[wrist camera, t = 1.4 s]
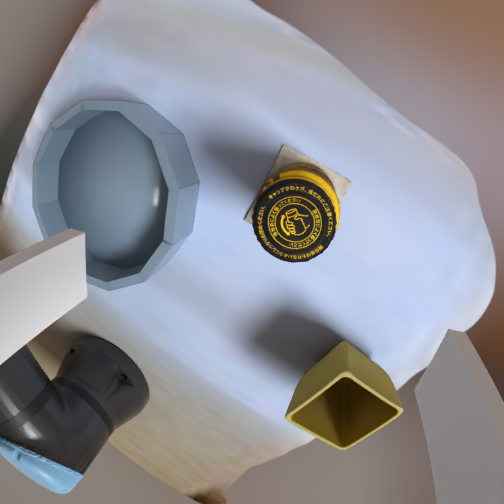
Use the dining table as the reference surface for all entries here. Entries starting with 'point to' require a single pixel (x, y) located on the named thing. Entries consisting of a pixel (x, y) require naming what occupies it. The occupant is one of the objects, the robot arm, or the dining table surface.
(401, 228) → the dining table surface
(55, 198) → the bowl
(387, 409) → the flower pot
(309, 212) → the condiment
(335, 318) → the dining table surface
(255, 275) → the dining table surface
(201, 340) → the dining table surface
